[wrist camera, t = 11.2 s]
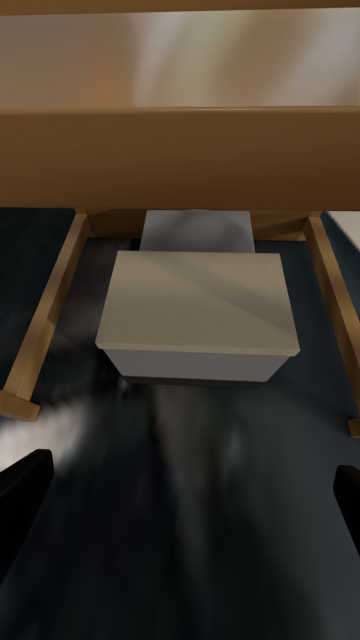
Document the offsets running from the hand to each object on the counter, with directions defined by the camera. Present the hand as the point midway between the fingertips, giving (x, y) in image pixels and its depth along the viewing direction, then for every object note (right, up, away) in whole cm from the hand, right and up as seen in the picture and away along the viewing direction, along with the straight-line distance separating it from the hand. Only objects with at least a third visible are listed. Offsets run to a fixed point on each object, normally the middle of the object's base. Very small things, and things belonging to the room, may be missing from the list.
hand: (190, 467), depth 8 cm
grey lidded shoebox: (+1, +6, +17) cm, 18 cm away
